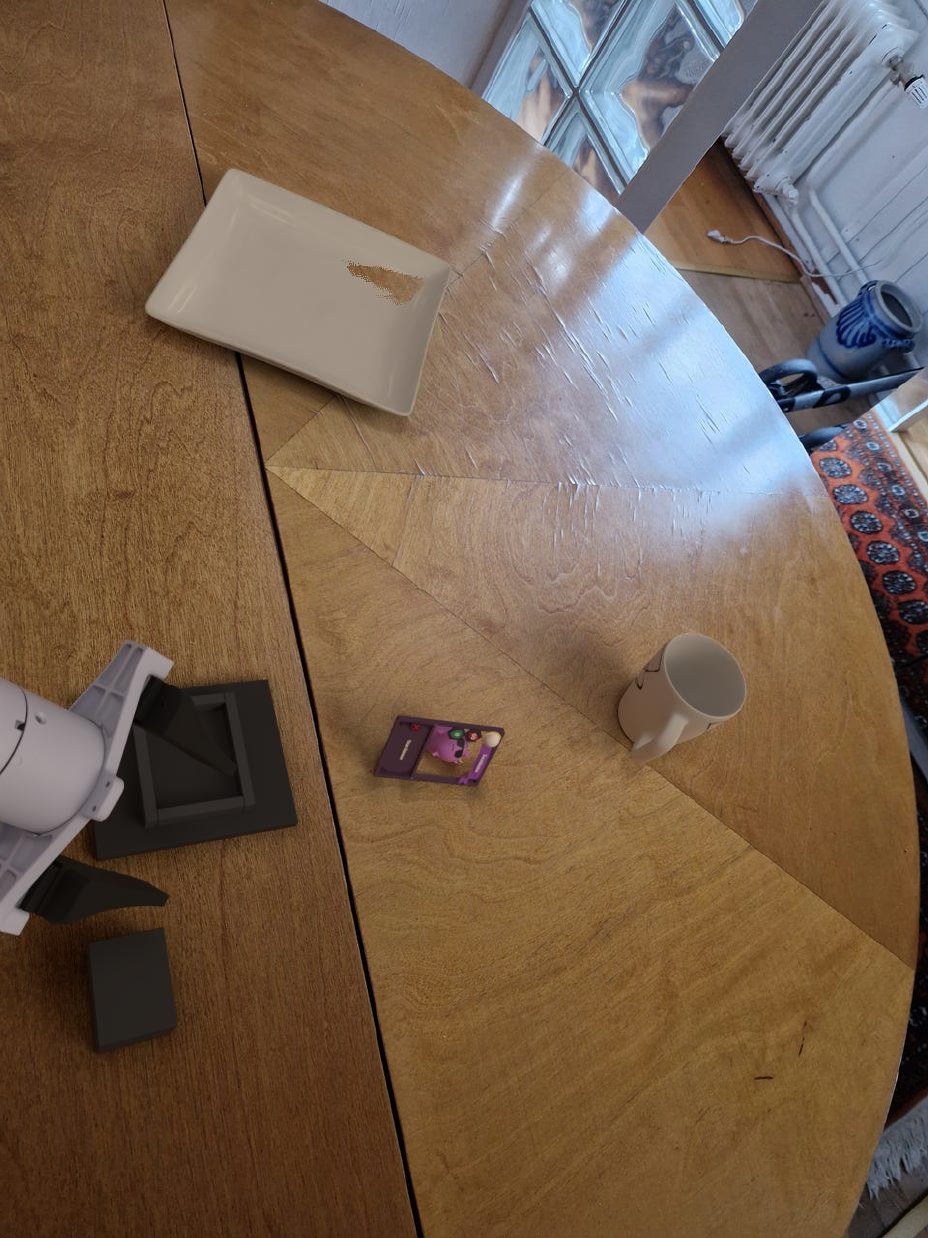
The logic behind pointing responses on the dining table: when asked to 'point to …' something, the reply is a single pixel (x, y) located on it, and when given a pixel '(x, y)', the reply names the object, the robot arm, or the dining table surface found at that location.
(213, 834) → the base pad
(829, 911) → the dining table surface
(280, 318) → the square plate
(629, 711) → the mug
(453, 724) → the game card
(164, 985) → the small block
